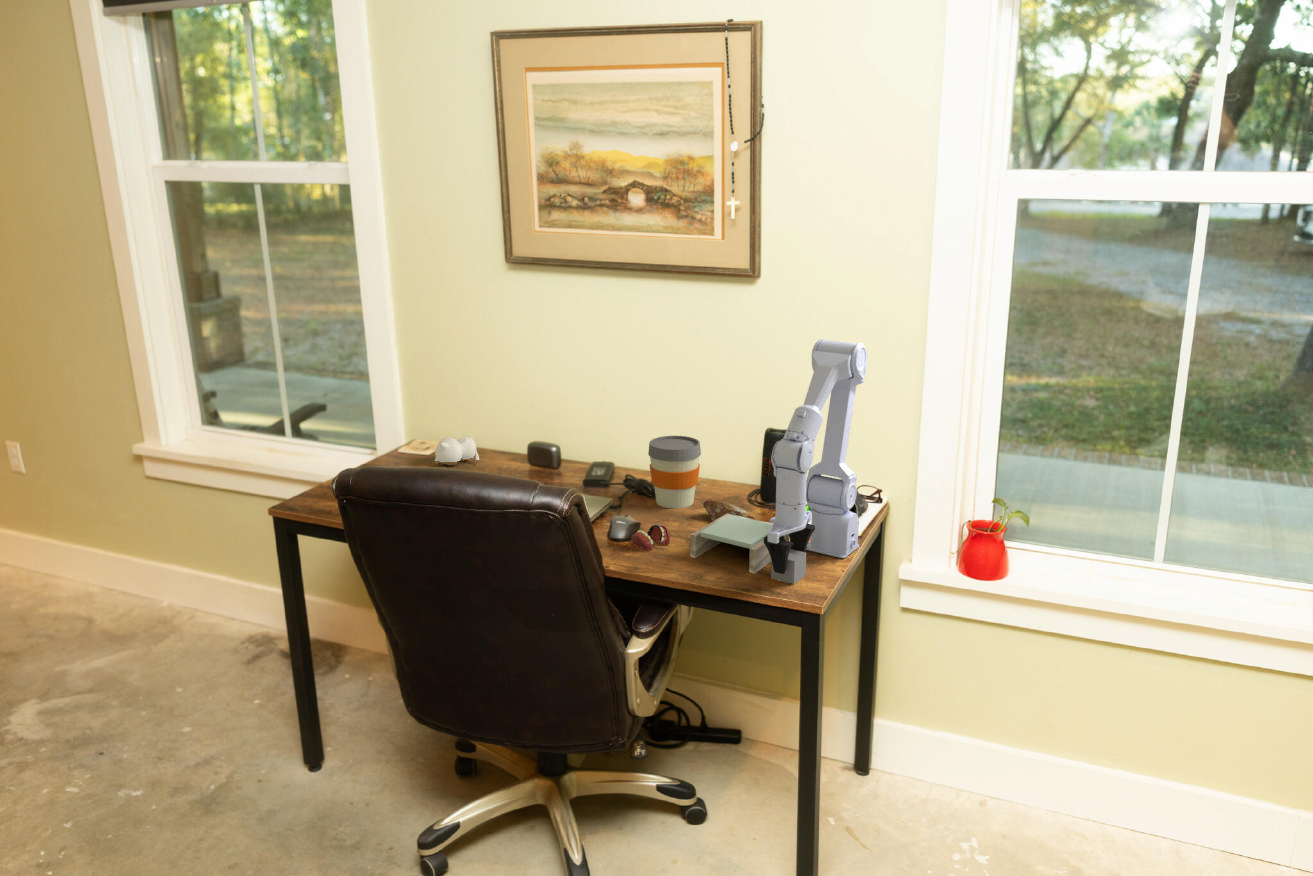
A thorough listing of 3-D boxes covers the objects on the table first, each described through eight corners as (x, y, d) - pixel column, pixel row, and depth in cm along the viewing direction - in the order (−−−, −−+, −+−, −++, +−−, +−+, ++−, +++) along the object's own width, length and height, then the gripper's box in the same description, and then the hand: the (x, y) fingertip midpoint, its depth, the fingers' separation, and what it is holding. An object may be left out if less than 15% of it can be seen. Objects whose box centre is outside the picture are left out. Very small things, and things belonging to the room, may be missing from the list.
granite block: (805, 576, 190) (806, 552, 189) (793, 585, 186) (794, 561, 185) (783, 570, 193) (783, 547, 192) (771, 579, 189) (771, 555, 188)
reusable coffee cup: (666, 514, 224) (665, 453, 220) (639, 499, 234) (638, 440, 230) (710, 504, 230) (711, 444, 226) (683, 490, 241) (682, 432, 236)
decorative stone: (725, 489, 226) (773, 512, 216) (723, 506, 227) (771, 530, 217) (696, 498, 220) (745, 523, 209) (694, 516, 221) (742, 541, 211)
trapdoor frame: (788, 549, 203) (789, 527, 202) (754, 573, 191) (755, 550, 190) (726, 534, 211) (727, 513, 210) (690, 556, 200) (690, 534, 198)
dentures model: (627, 527, 205) (656, 519, 210) (627, 545, 206) (656, 537, 211) (644, 536, 201) (673, 527, 206) (643, 554, 202) (672, 545, 207)
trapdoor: (729, 519, 208) (729, 514, 208) (779, 530, 201) (779, 525, 201) (700, 536, 199) (700, 532, 198) (750, 548, 192) (750, 544, 192)
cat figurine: (472, 425, 266) (434, 432, 258) (491, 452, 261) (453, 460, 253) (463, 448, 271) (426, 455, 263) (482, 474, 267) (444, 482, 258)
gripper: (789, 486, 193) (787, 549, 197) (754, 507, 182) (752, 573, 185) (821, 493, 189) (818, 557, 193) (787, 514, 178) (785, 582, 182)
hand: (788, 565), depth 189 cm, fingers open, 7 cm apart
